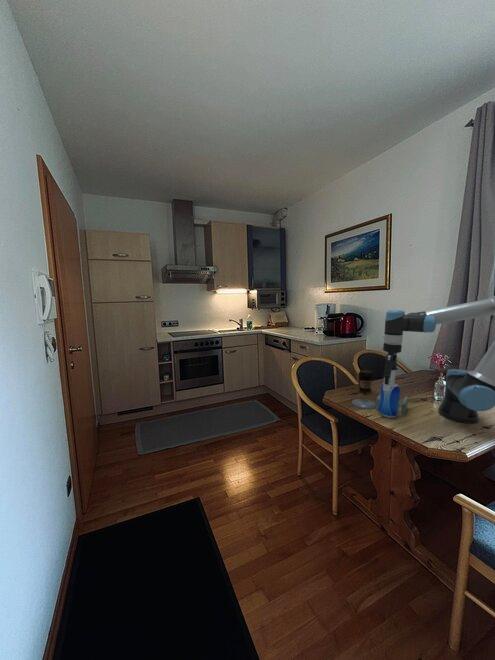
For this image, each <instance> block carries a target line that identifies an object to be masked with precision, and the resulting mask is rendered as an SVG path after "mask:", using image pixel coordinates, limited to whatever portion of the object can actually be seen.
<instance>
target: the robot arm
mask: <svg viewBox="0 0 495 660" xmlns="http://www.w3.org/2000/svg"><path fill="white" fill-rule="evenodd" d="M490 316H494V317H495V295H490V297H488V298H485V299H480V300H475V301H471V302H464V303H458V304H454V305H448V306H443V307H437V308H435V309H432V308H431V309H428V310H423V311H418V312H408V313H406V312H405V310H402V309H401V310H399V309H396V310H395V309H393V310H392V309H390V310H387V311H386V313H385V319H384V321H385V322H384V335H383V336H382V338H383V347H382V350H383V351H384V352H386V353H387V354H386V356H385V363H384V369H383V374H382V375H381V377H382V378H383V383H382V385H383V390H384V391H390V382H393V383H396V382H395V381H396V372H397V371H398V365H397V364H398V363H397V359H398V358H397V357H398V356H397V355H398V354H400V353H401V352H402V347H403V346H402V344H403V337H404V332H412V333H413V332H414V333H424V334H425V333H434V332H435V331H436V327H437V325H441V324H443V325H444V324H448V323H449V324H450V323H453V322H454V323H455V322H460V321H465V320H467V321H468V320H471V319H473V320H474V319H478V318H482V317H490ZM443 395H444V397H443V399H442V401H441V403H440V405H439V407H438V411H437V412H438V414H440V415H439V416H442V417H444V418H446V419H448V420H451V421H454V422H459V423H464V424H475V422H476V423H478V422H477V421H479V413H478V412H485V411H486V412H487V411H490V410H492V409H493V408H494V407H495V340H494V341H493V342H492V344H491V345H490V346H489V348H488V349H487V351H486V352H485V354H484V355H483V357H482V358H481V360H480V361H479V363H478V364H477V365H476V367H475V369H473V370H467V369H460V368H459V369H458V368H451V369H448V370H447V371H446V374H445V386H444V394H443Z"/></svg>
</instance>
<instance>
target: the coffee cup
mask: <svg viewBox="0 0 495 660" xmlns="http://www.w3.org/2000/svg"><path fill="white" fill-rule="evenodd" d="M373 378H374V373H373V371H372V370H360V371H359V372H358V387H359V388H358V389H359V390H358V391H359V392H360V393H362V394H371V392H372V391H371V388H372V383H373Z"/></svg>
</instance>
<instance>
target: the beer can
mask: <svg viewBox="0 0 495 660" xmlns="http://www.w3.org/2000/svg"><path fill="white" fill-rule="evenodd" d="M379 391H380V392H379V393H380V394H379V395H380V405H379V410H378V411H379V414H380V415H381V416H383V417H385V418H388V419H395V418H396V417H397V416H399V409H400V406H399V404H400V396H401V395H400V394H401V389H400V386H399V384H398V383H396V382H395V383H393V382H390V391H384V390H383V384H381V386H380V390H379Z"/></svg>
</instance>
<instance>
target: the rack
mask: <svg viewBox="0 0 495 660" xmlns="http://www.w3.org/2000/svg"><path fill="white" fill-rule="evenodd" d="M408 400H409V397H408V396H404V398H403V401H402V403H399V407H401V410H400V411H401V412H400V416H401V417H404V416H405V414H406V413H407V408H408V403H409V402H408ZM379 405H380V394H379V395H378V396H377V398H376V408H375V410H377V411H379Z"/></svg>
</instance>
